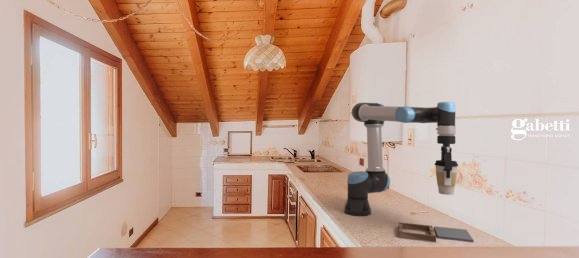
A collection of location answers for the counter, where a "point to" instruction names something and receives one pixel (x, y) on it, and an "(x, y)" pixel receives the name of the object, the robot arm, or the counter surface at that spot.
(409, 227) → the walnut collar
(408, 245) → the counter surface
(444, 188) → the coffee cup
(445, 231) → the trivet mat
